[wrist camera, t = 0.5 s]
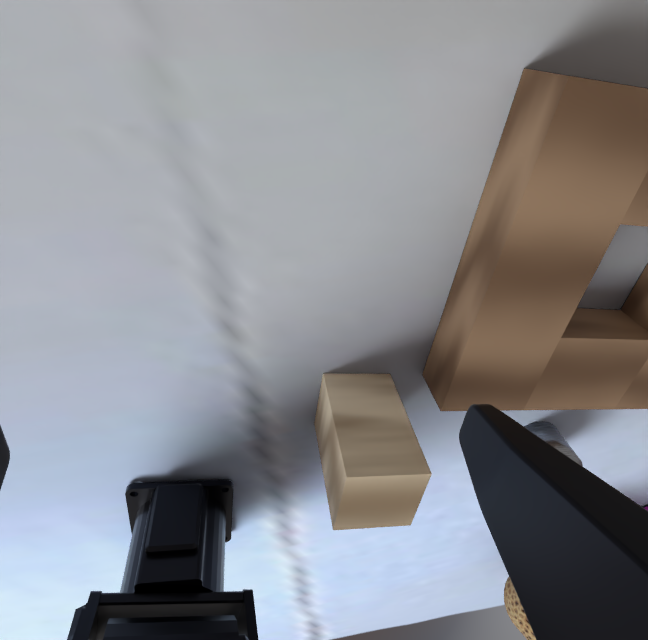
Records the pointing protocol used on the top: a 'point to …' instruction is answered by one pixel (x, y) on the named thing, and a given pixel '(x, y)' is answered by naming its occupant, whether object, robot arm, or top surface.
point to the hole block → (550, 258)
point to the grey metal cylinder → (553, 438)
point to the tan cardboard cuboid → (368, 452)
